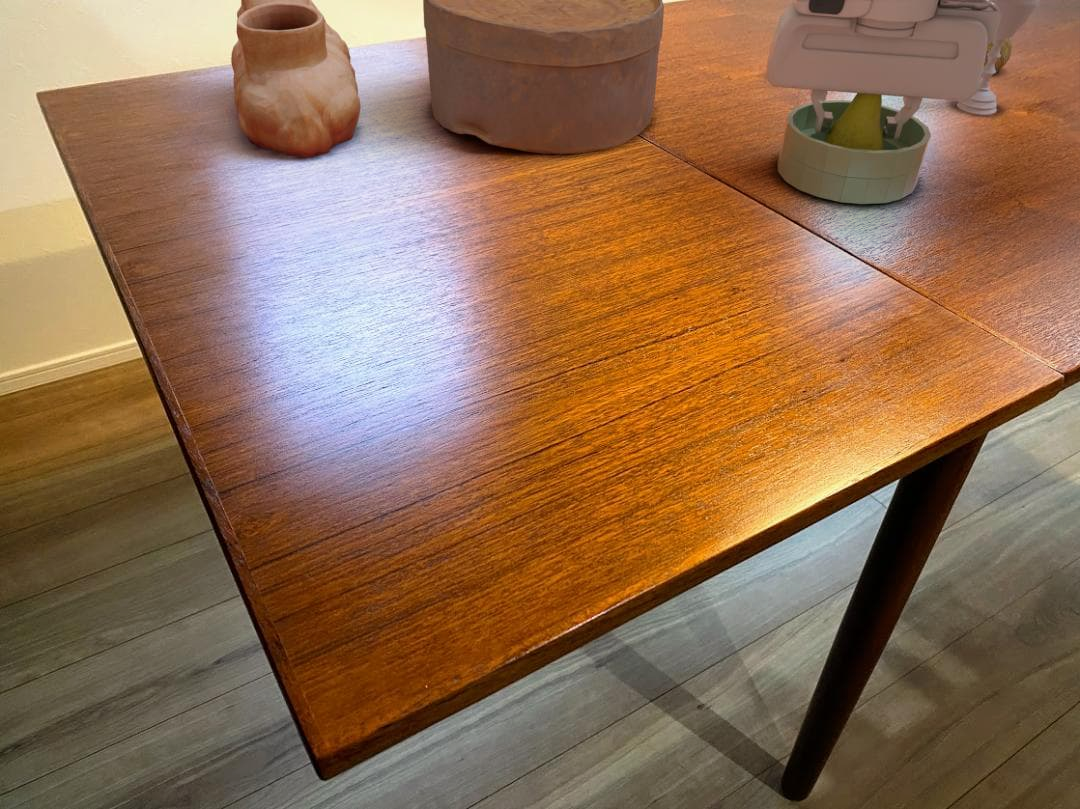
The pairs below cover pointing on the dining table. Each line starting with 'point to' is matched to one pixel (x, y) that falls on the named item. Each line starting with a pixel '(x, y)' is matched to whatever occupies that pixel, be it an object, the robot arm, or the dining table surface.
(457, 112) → the container
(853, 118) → the fruit
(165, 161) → the dining table surface
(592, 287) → the dining table surface
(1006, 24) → the chalice
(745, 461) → the dining table surface
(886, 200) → the bowl
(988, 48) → the seashell
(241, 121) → the ceramic vessel
